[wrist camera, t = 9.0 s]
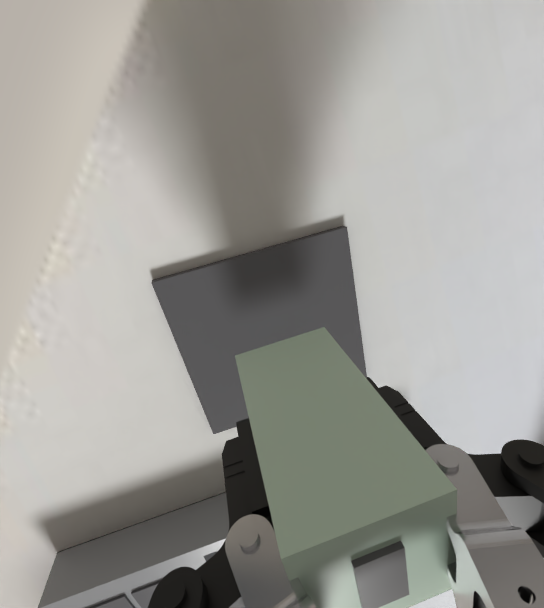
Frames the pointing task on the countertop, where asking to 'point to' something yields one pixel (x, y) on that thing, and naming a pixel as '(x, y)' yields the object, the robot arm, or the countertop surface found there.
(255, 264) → the mat
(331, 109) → the countertop surface
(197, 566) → the strip
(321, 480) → the block
